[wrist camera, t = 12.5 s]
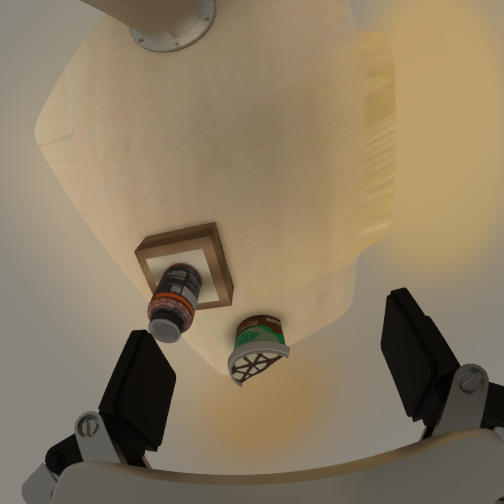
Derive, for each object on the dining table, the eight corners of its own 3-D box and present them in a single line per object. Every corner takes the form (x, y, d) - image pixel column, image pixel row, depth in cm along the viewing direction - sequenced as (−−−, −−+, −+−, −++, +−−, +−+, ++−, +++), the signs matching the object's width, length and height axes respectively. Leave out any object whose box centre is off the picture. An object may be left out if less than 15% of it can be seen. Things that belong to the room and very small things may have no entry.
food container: (261, 298, 48) (262, 339, 39) (285, 315, 50) (290, 356, 41) (217, 334, 52) (212, 374, 43) (241, 349, 54) (239, 388, 45)
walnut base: (145, 237, 43) (133, 252, 38) (215, 222, 41) (209, 236, 37) (169, 296, 48) (162, 315, 43) (233, 287, 47) (231, 306, 42)
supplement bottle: (172, 298, 42) (152, 350, 32) (158, 266, 39) (131, 315, 29) (208, 292, 41) (195, 347, 31) (195, 258, 38) (176, 309, 28)
